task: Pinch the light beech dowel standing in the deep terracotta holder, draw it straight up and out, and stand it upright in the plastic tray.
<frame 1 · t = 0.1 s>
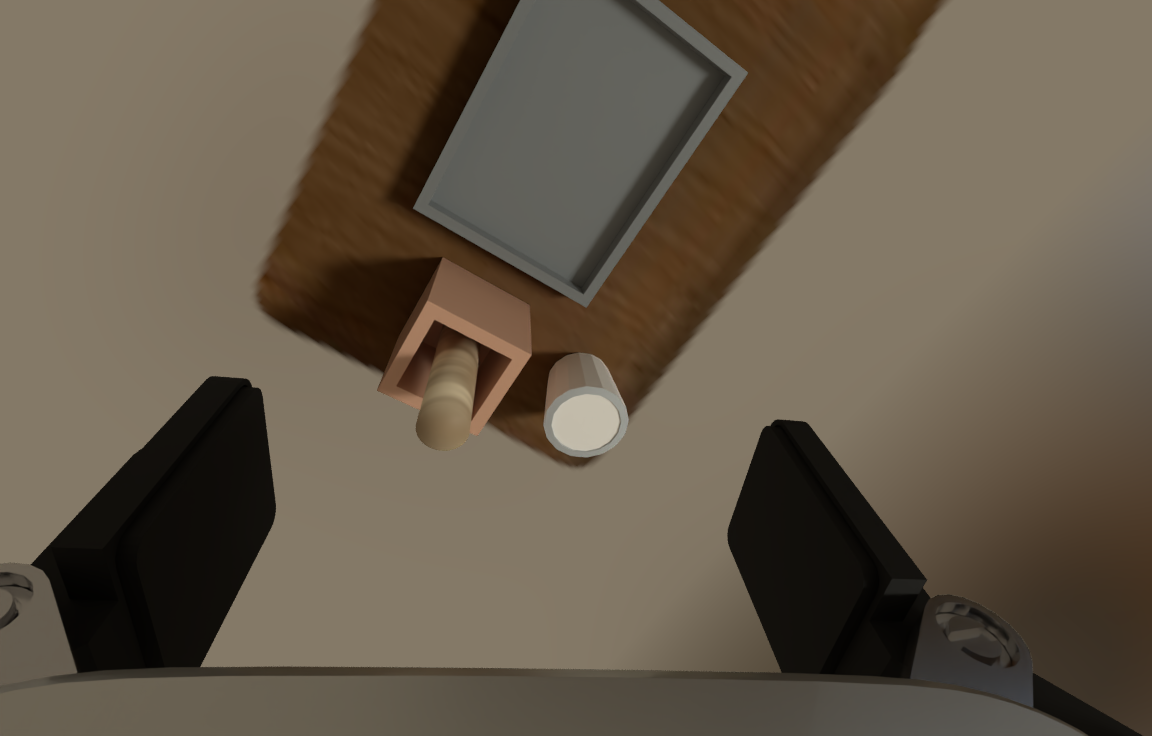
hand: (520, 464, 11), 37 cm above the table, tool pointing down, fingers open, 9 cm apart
cream short cylinder: (578, 379, 54), on the table
holder: (464, 320, 50), on the table
dowel: (463, 325, 49), point 1 cm above the table, touching holder
tray: (572, 137, 44), on the table
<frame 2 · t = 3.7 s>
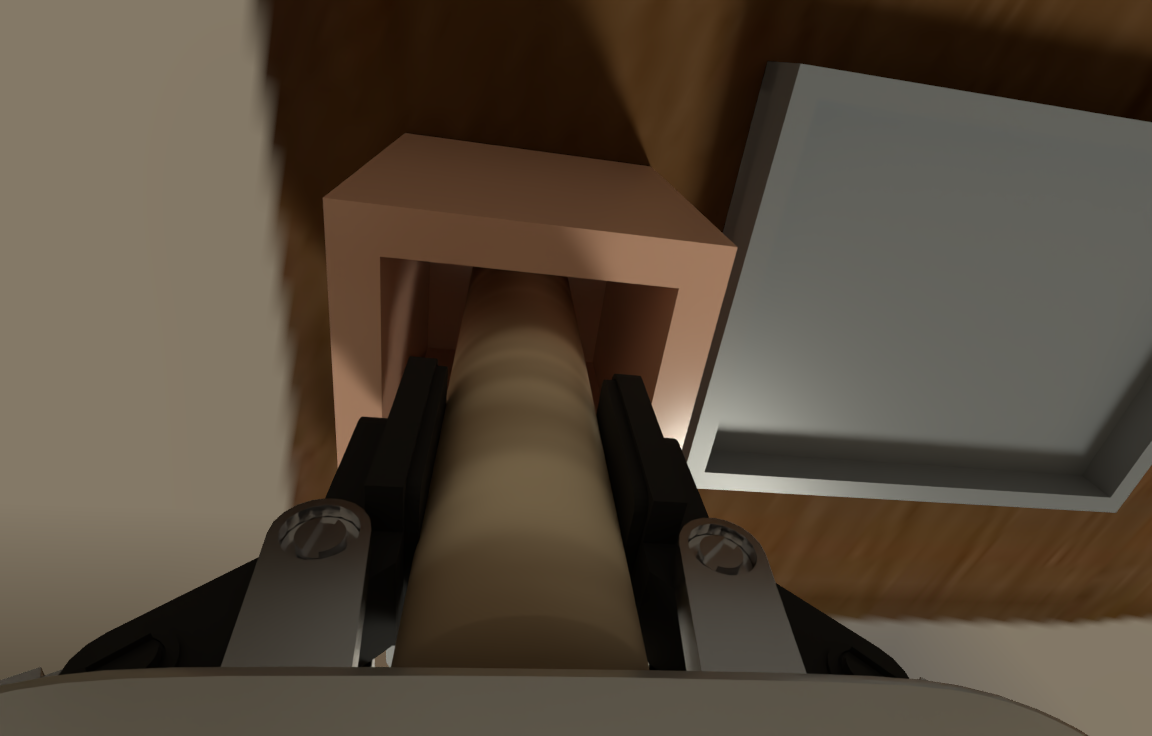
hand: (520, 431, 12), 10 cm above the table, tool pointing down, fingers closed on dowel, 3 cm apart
holder: (519, 267, 21), on the table
dowel: (519, 277, 20), point 1 cm above the table, touching gripper, holder
tray: (950, 312, 24), on the table
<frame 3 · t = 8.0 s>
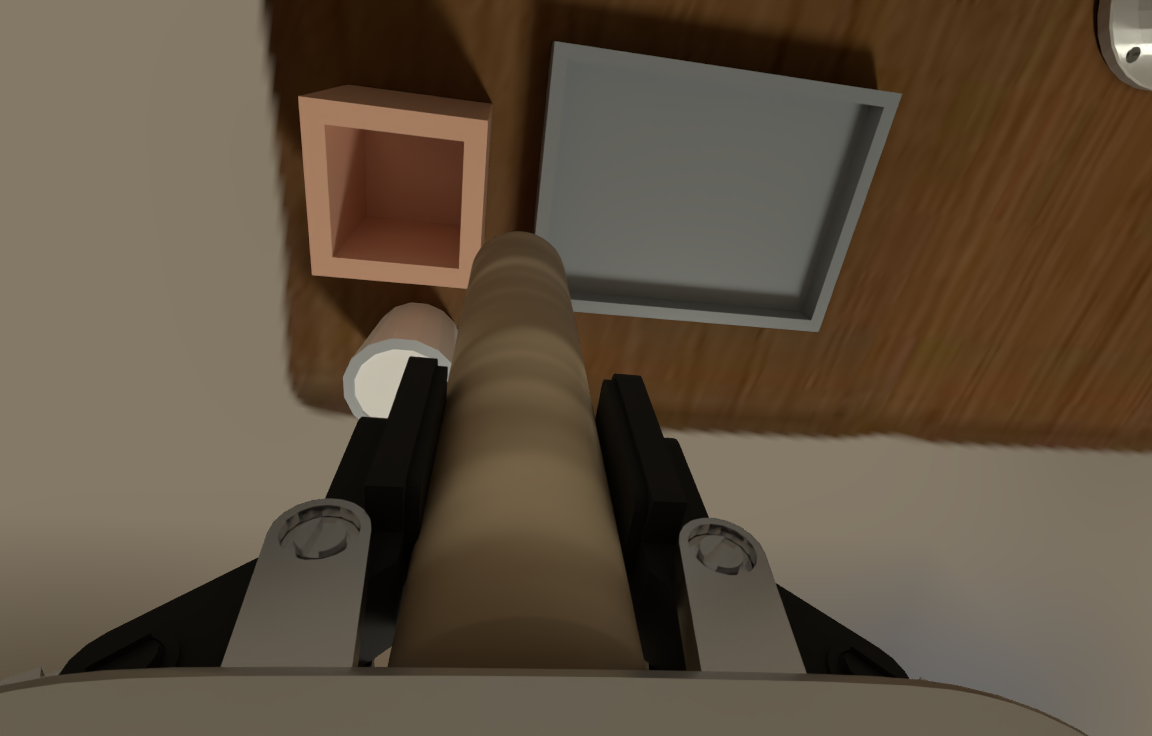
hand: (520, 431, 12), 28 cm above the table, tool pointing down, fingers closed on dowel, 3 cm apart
cream short cylinder: (419, 339, 41), on the table
holder: (420, 167, 36), on the table
dowel: (518, 277, 20), point 18 cm above the table, touching gripper
tray: (693, 197, 38), on the table
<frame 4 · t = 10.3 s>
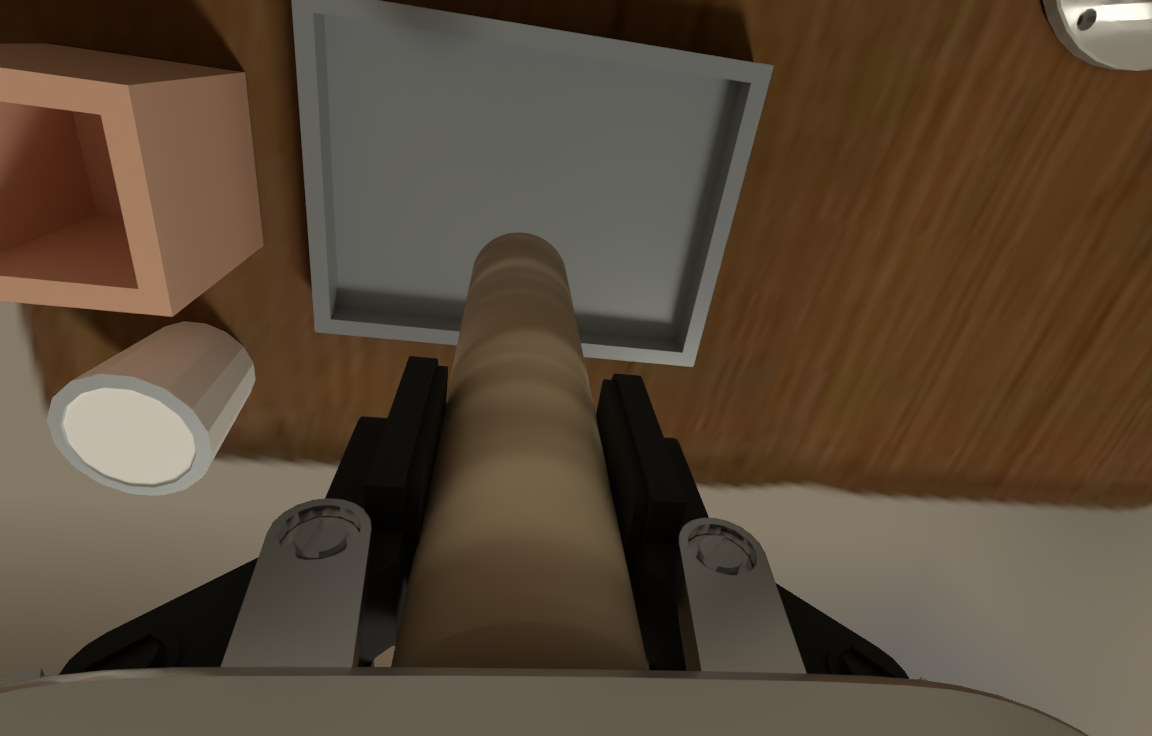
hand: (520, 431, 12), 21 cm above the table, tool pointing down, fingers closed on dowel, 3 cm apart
cream short cylinder: (203, 365, 34), on the table
holder: (164, 153, 28), on the table
dowel: (519, 278, 20), point 11 cm above the table, touching gripper
tray: (526, 197, 30), on the table
when the fingers open (11 cm above the table, at t = 12.2 s): dowel stays where it is, resting on tray.
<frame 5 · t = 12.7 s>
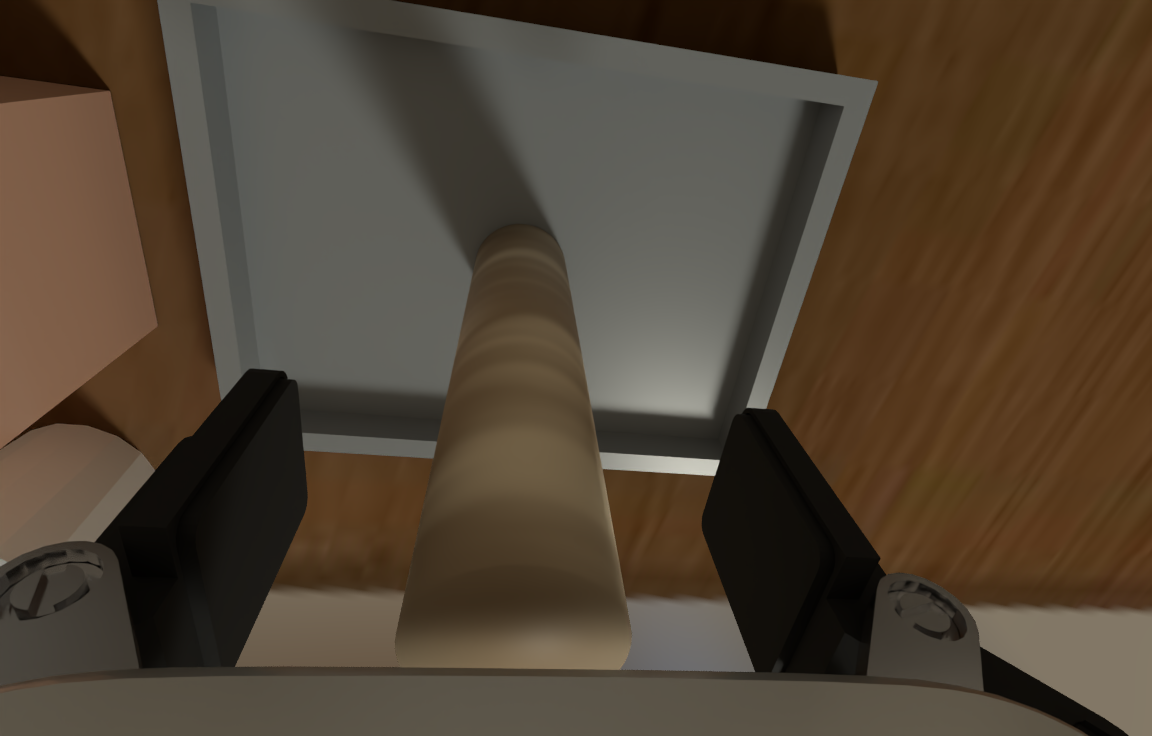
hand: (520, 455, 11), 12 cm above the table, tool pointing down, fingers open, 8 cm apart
cream short cylinder: (91, 475, 25), on the table
holder: (4, 204, 20), on the table
dowel: (520, 268, 21), point 1 cm above the table, touching tray
tray: (519, 258, 22), on the table
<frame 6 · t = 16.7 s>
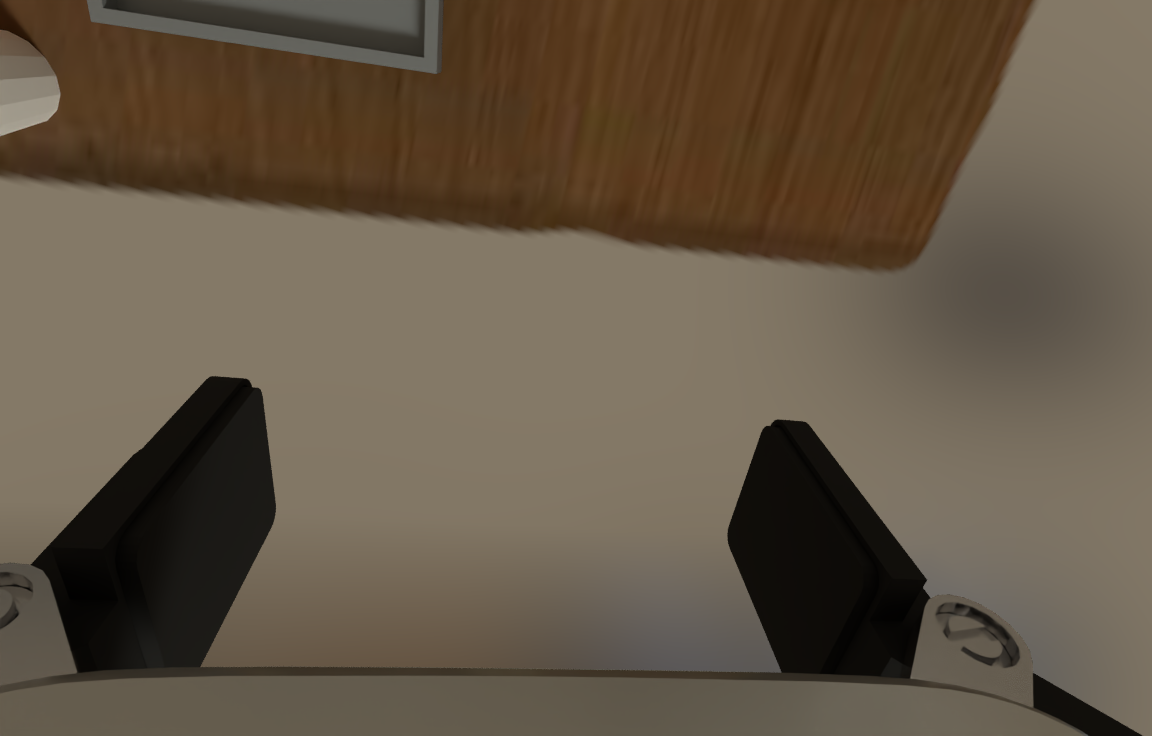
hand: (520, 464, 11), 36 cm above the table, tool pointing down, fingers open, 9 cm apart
cream short cylinder: (12, 77, 38), on the table
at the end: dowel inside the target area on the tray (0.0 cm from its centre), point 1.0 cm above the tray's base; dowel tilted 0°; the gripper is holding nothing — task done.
